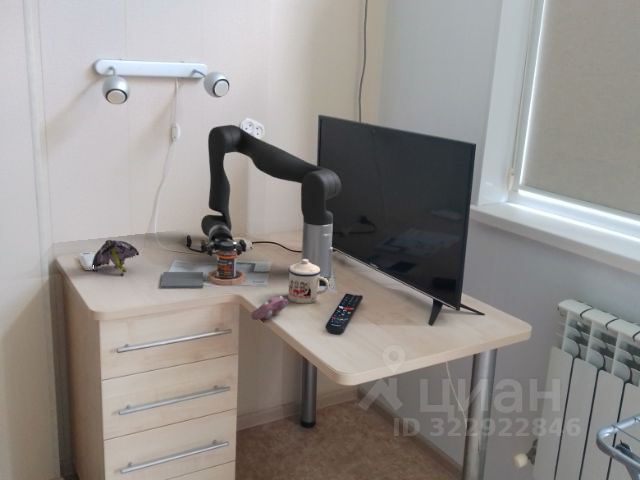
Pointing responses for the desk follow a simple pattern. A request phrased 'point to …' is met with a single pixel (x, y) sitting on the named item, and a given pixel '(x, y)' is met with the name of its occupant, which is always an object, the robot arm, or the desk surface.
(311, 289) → the teacup with lid
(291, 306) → the desk surface
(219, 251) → the supplement bottle
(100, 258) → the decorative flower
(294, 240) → the desk surface
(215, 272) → the terracotta ring
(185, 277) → the grey mat
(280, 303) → the video game controller
